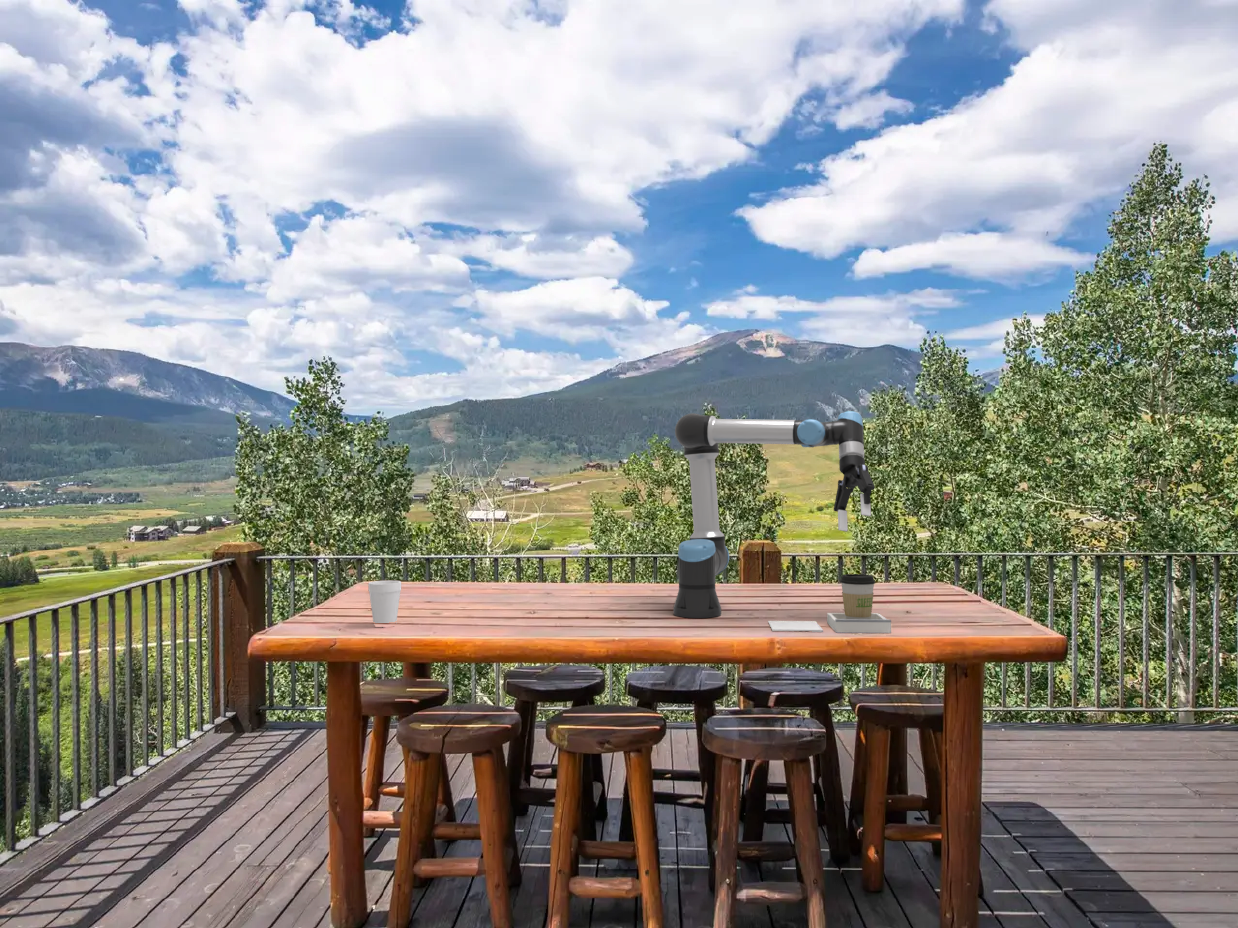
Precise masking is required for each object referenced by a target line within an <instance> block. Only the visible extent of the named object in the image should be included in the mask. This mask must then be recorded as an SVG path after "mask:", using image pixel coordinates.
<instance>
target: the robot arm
mask: <svg viewBox="0 0 1238 928" xmlns="http://www.w3.org/2000/svg"><path fill="white" fill-rule="evenodd" d="M674 435H675V439H677V441H678V443H679V444H680V445H681V446H682V447H683V455H684V457H685V459H687V460H688V462H689V464H688V465H689V476H690V477H689V478H690V491H691V507H692V519H693V522H692V523H693V524H692V525H693V533H692V534H691V535H690V536H689V539H688V540H684V541H681V542H680V544H678V550H677V556H678V592H677V595H676V598H675V601H674V605H673V615H674V616H677V617H681V618H688V619H689V618H691V619H703V618H705V619H706V618H709V619H710V618H716V617H720V616H721V615H722V607H721V603H720V600H719V597H718V595H717V591H716V576H717V575H720V574H722V572H723V571H725V569H726V568H727V566H728V564H729V561H730V552H729V549H728V548H727V546H726V541H725V540H726V538H725V534H724V533H723V532H722V531H721V529H720V520H719V517H720V515H719V506H718V505H719V502H718V488H717V474H716V473H717V471H716V458H717V457H718V456H719V455H720V452H719V447H720V446H719V443H720V444H761V445H762V444H764V445H766V444H767V445H797V446H798V445H801V447H802V448H814V447H815V448H816V447H827V446H832V445H834V446H836V445H838V459H839V460H838V462H839V463H838V465H839V472H840V473H842V475H843V479H842V480H841V479H838V481H837V489H836V490H837V491H836V494H835V500H834V505H833V512H837V525H838V526H837V527H838V529H837V530H838V531H843V532H848V530H849V529H848V528H849V527H848V511H847V507H848V503H849V501H850V497H851V494H852V493H853V492H854V489H856V487H858V489H859V491H860V494H859V495H860V496H859V497H860V515H862V516H866V517H871V516H872V510H871V509H872V507H871V494H872V491H874V490H875V489H876V488H875V484H874V481H873V480H872V477H871V475H870V473H869V469H868V465H866V462H865V448H864V447H865V445H864V442H865V441H864V422H863V417H862V415H861V414H860V413H859V412H856V411H851V410H849V411H845V412H841V413H840V414H839V415H838V417H837V420H834V421H833V420H831V421H823V422H821V421H819V420H817V419H813V418H812V419H811V418H810V419H809V418H808V419H758V418H757V419H753V418H752V419H746V418H745V419H744V418H742V419H741V418H739V419H737V418H734V419H733V418H716V416H714V415H705V414H699V413H695V412H692V413H687V414H685V415H682V416H681V417H680V418H679V419H678V421H677V422H676V424H675V429H674Z"/></svg>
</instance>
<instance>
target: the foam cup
mask: <svg viewBox="0 0 1238 928" xmlns="http://www.w3.org/2000/svg"><path fill="white" fill-rule="evenodd" d="M367 585H368V592H369V599H370V607H371V616H372V623H373V622H375V623H389V622H395V621H398V613H399V604H400V599H401V598H400V596H401V590H402V581H400V580H391V579H390V580H389V579H387V580H376V581H369V582H368V584H367Z"/></svg>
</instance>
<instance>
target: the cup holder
mask: <svg viewBox="0 0 1238 928" xmlns="http://www.w3.org/2000/svg"><path fill="white" fill-rule="evenodd" d="M826 619H827V624H828V625H829V627H830V628H832V630H833V631H834V632H835V633H837V634H838V633H840V634H841V633H842V634H843V633H847V634H852V633H853V634H892V619H888V618H886V617H885V616H883V615H882V614H880V613H879V612H878V613H877V612H876V613H875V612H874V613H873V612H871V617H870V619H846V615H845V612H827V613H826Z"/></svg>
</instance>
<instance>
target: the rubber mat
mask: <svg viewBox="0 0 1238 928" xmlns="http://www.w3.org/2000/svg"><path fill="white" fill-rule="evenodd" d="M767 623H769V624H768V625H770V626H769V628H770V627H771V628H770V629H772V630H771V631H772V632H773V631H812V632H811V633H824V629H823V628H822V627H821V625H819V624H818V622H817V621H816V620H812V621H811V620H767Z"/></svg>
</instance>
